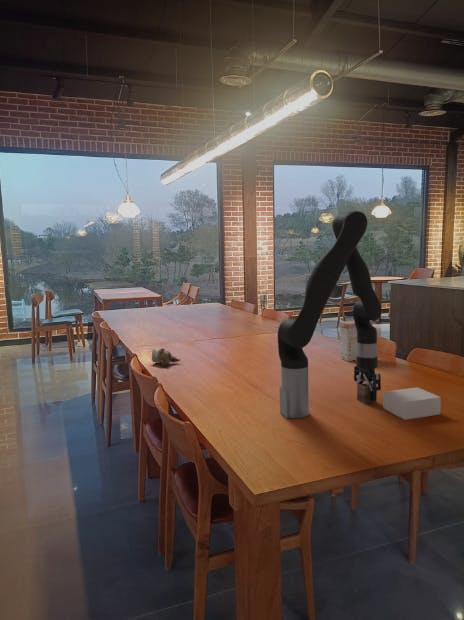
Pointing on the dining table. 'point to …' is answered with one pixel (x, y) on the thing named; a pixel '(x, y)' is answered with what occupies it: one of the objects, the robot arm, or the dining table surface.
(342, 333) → the coffeecake box
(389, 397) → the block
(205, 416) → the dining table surface
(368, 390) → the walnut block
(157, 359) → the ceramic sculpture
